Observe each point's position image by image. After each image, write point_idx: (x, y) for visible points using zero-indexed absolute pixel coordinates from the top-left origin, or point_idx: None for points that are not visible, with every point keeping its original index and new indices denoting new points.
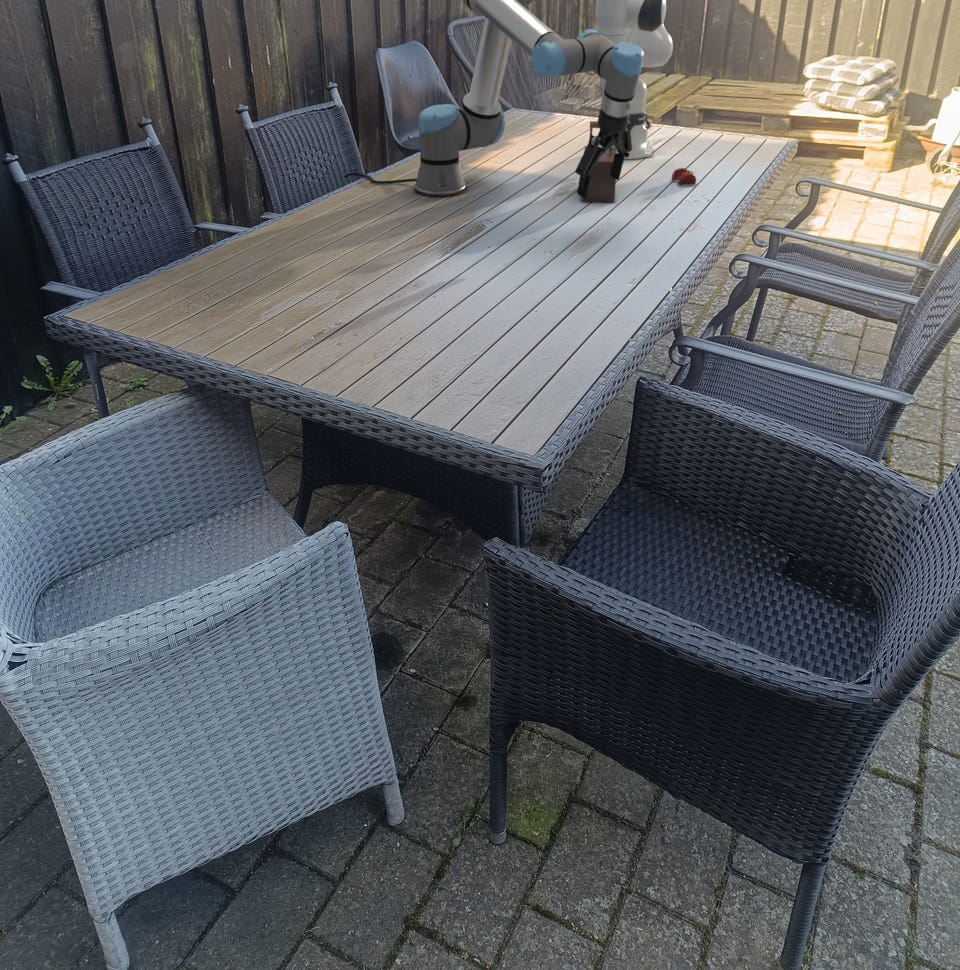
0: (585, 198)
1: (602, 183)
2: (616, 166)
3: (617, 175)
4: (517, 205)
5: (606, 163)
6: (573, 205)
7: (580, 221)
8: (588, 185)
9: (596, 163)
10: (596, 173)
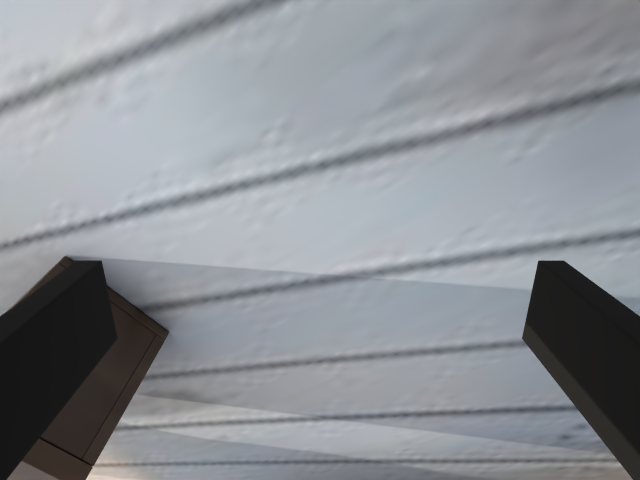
0: (154, 334)
1: None
2: (35, 375)
3: (80, 290)
4: (366, 432)
5: None
6: (222, 334)
7: (350, 232)
8: (630, 331)
9: (33, 452)
10: None
